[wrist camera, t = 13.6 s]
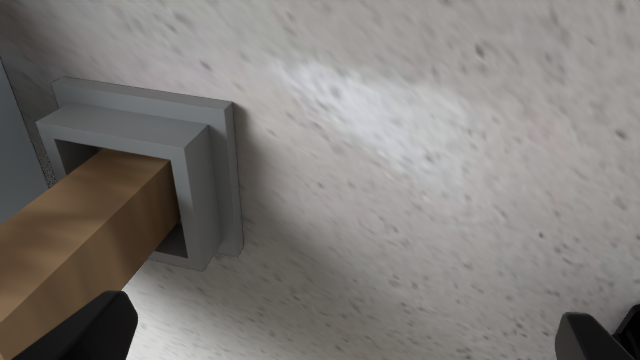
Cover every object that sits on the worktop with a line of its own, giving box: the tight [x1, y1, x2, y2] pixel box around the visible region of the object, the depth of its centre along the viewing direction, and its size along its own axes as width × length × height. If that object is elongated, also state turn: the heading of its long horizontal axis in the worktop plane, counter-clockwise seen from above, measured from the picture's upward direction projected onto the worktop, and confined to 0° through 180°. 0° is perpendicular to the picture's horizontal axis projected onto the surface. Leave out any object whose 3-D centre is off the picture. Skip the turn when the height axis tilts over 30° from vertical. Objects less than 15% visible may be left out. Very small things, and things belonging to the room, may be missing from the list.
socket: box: [35, 77, 244, 272], centre depth 25 cm, size 10×10×4 cm
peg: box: [0, 148, 181, 360], centre depth 21 cm, size 4×4×12 cm
